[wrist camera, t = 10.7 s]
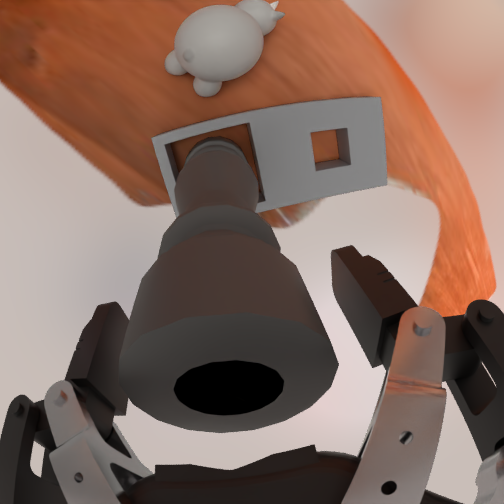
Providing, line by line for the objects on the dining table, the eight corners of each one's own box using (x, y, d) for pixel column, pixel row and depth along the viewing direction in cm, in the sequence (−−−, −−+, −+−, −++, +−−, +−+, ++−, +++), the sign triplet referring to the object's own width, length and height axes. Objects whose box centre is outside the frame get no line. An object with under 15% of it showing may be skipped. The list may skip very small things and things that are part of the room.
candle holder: (250, 140, 27) (388, 303, 5) (240, 196, 30) (305, 429, 8) (189, 133, 26) (80, 285, 4) (183, 190, 29) (129, 428, 7)
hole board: (157, 134, 25) (151, 137, 23) (366, 96, 25) (380, 97, 23) (184, 220, 30) (181, 231, 28) (374, 177, 31) (387, 185, 28)
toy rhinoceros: (278, 47, 24) (325, 15, 17) (203, 111, 23) (236, 81, 16) (233, 6, 21) (268, -36, 13) (150, 65, 20) (161, 18, 12)
